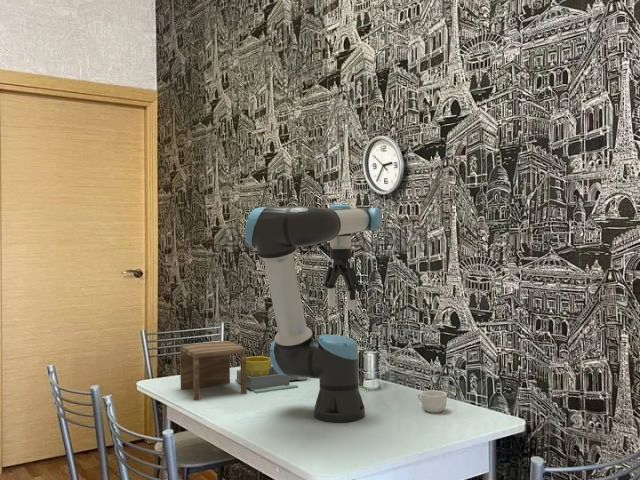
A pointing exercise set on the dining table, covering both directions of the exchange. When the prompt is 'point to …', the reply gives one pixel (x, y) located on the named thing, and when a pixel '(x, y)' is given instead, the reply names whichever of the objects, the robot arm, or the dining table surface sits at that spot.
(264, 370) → the plant pot
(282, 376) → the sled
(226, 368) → the tunnel
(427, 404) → the teacup
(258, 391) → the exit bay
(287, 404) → the dining table surface
